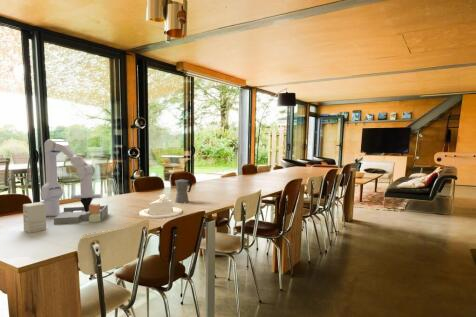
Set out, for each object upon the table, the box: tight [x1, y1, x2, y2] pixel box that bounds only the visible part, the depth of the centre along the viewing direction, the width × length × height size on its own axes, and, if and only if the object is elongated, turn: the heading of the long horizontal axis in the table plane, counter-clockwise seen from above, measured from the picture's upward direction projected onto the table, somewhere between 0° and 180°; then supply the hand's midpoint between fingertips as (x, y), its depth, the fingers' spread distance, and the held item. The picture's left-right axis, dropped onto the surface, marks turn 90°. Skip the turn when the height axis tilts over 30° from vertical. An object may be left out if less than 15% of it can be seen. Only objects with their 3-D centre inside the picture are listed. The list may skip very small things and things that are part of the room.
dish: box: [138, 193, 183, 219], centre depth 171 cm, size 25×25×11 cm
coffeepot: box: [174, 176, 193, 204], centre depth 203 cm, size 15×9×18 cm, turn 62°
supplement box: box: [22, 201, 47, 234], centre depth 137 cm, size 7×7×13 cm
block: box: [89, 203, 101, 214], centre depth 159 cm, size 4×4×4 cm
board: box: [53, 204, 109, 225], centre depth 157 cm, size 23×16×6 cm
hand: (87, 211), depth 158 cm, fingers closed
